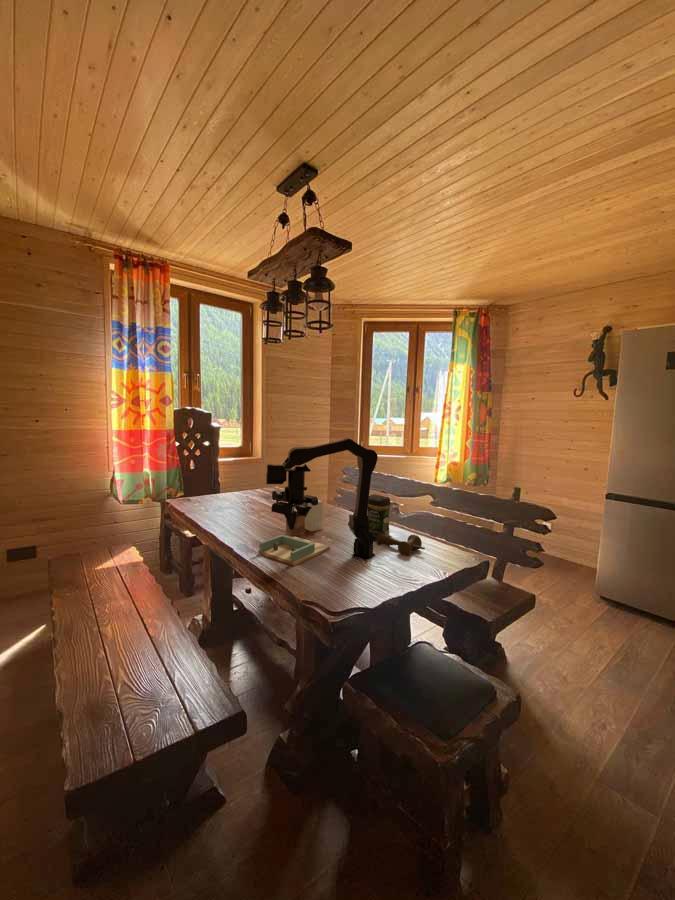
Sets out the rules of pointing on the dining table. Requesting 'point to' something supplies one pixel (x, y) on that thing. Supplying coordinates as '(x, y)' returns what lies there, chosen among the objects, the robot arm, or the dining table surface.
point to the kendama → (401, 543)
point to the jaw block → (297, 525)
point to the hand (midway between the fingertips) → (295, 528)
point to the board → (284, 551)
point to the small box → (314, 517)
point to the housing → (303, 546)
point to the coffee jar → (378, 514)
